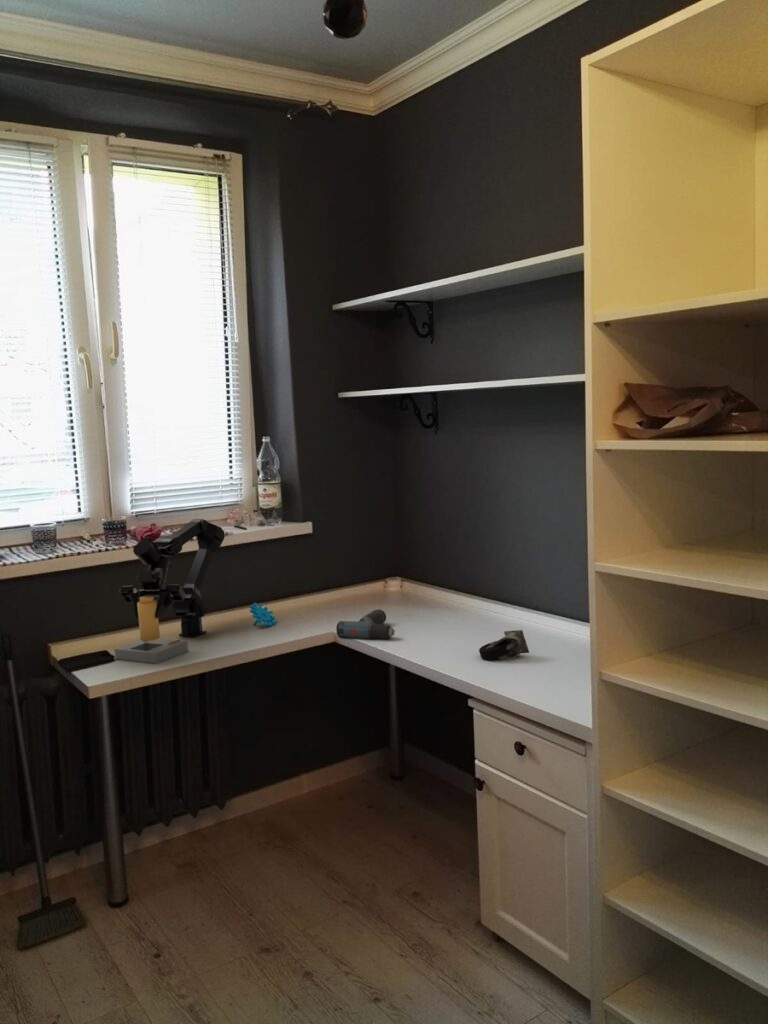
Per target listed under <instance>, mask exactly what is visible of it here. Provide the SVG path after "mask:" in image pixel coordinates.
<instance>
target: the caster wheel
mask: <svg viewBox="0 0 768 1024" xmlns="http://www.w3.org/2000/svg"><path fill="white" fill-rule="evenodd" d="M523 631H524V630H522V629H518V630H515V629H514V630H507V631H506V630H505V631H503V633H504V636H503V637H502V638H500V639H499V640H496V641H495V640H494V641H492V642H489V643H486V644H484V645H483V646H481V647H480V648H479V649H478V652H479V655H480V658H481V659H482V660H485V661H486V660H487V661H488V660H494V659H499V660H501V661H511V660H513V659H515V658H516V657H517V656H519V655H520V654H521V655H522V654H529V653H530V650H529V646H528V644H527V641H526V638H525V635H524V632H523Z"/></svg>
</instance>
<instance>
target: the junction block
mask: <svg viewBox="0 0 768 1024" xmlns="http://www.w3.org/2000/svg"><path fill="white" fill-rule="evenodd" d="M188 642H189V641H188V640H182V639H180V638H179V637H177V638H175V639H173V638H172V639H169V638H161V637H160V638H159V639H156V640H152V641H142V640H141V639H138V640H136V641H133V642H130V643H127V644H124V645H122V646H121V645H120V646H118V647H116V648H114V656H115V658H116V659H115V660H122V661H123V660H124V661H130V660H131V661H132V662H138V661H140V663H147V662H148V663H147V664H155V663H156V664H158V662H159V663H161V662H164V661H166V660H169V659H171V658H173V656H174V657H176V656H179V655H181V654H183V653H185V652H188V651H189V644H188ZM178 654H179V655H178ZM168 658H169V659H168ZM163 660H164V661H163ZM160 661H161V662H160ZM149 662H150V663H149Z"/></svg>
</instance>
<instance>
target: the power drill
mask: <svg viewBox="0 0 768 1024" xmlns="http://www.w3.org/2000/svg"><path fill="white" fill-rule="evenodd" d="M386 621H387V615H386V613H385V611H384V610H382V609H375V610H373V611H370V612H368V613H367V614H365V615H364V616H362V617H361V618H360V619H359V620H358V621H356V620H354V621H353V620H352V621H351V620H350V621H349V620H340V621H338V622H337V624H336V629H335V630H336V636H337V637H340V638H348V639H349V638H352V639H363V638H364V640H370V639H371V640H372V639H373V640H377V639H381V640H385V639H386V640H387V639H388V640H389V639H391V638H392V637H393V636H394V635H395V633H396V630H394V628H393V627H392V626H391V625H390V624H385V622H386Z"/></svg>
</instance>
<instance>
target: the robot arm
mask: <svg viewBox="0 0 768 1024" xmlns="http://www.w3.org/2000/svg"><path fill="white" fill-rule="evenodd" d="M225 536H226V534H225V531H224V530H223V528H222V527H221V526H218V525H217V524H213V523H212V522H210V521H209V522H208V521H207V520H205V519H203V518H194V519H192V520H191V519H190V521H189V522H188V523H187V524H185V525H183V526H182V527H181V528H179V529H177V530H176V531H174V532H173V533H172V534H169V535H168V534H167V535H163V536H161V537H160V536H159V537H158V538H156V539H155V540H154V541H153V539H152V538H151V537H149V536H147V537H146V536H144V537H143V539H142V540H140V541H139V542H137V543H136V544H135V545H134V546H133V549H132V552H133V554H134V555H135V556H136V557H137V558H138V560H140V562H141V563H142V564H144V565H145V566H148V567H147V569H142V570H141V569H139V570H137V577H136V582H138V583H140V585H139V586H140V587H141V588H143V589H139V588H136V587H135V586H134V585H122V586H120V588H119V590H118V594H119V596H120V597H121V598H122V601H124V602H125V603H126V604H129V603H131V604H133V608H134V616H135V618H136V620H139V618H138V607H137V603H138V602H140V599H139V598H140V597H142V596H153V597H158V601H157V609H156V613H155V617H156V618H158V619H159V617H160V616H161V615H162V613H164V611H165V610H167V608H169V606H171V605H172V609H173V611H174V614H175V617H176V618H179V617H180V621H181V622H180V627H181V629H180V630H181V633H179V634H178V636H180V637H188V638H189V637H191V638H195V637H198V636H201V635H203V634H206V633H207V630H203V622H202V617H205V616H206V614H207V607H206V606H205V604H204V603H203V602H202V599H203V598H202V594H201V591H200V590H201V588H202V584H203V581H204V580H205V577H206V574H207V571H208V567H209V566H210V563H211V559H212V558H213V557H212V556H213V555H214V554H213V553H215V552H216V551H217V550H218V549H220V548H221V546H222V544H223V542H224V540H225ZM194 538H197V539H198V542H197V545H198V549H197V552H196V555H195V557H194V560H193V562H192V565H191V567H190V568H191V569H190V571H189V574H188V576H187V578H186V581H185V584H184V585H183V586H182V585H181V584H180V583H171V584H169V583H168V584H167V582H168V581H167V579H166V578H167V575H168V570H169V569H172V568H173V565H172V564H173V563H171V562H170V561H171V560H170V559H168V558H167V557H177V556H178V555H179V553H181V551H183V547H184V545H185V544H186V543H188V542H190V541H191V540H192V539H194ZM197 539H196V540H197ZM165 585H166V588H165ZM205 632H206V633H205ZM202 633H203V634H202Z"/></svg>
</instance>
